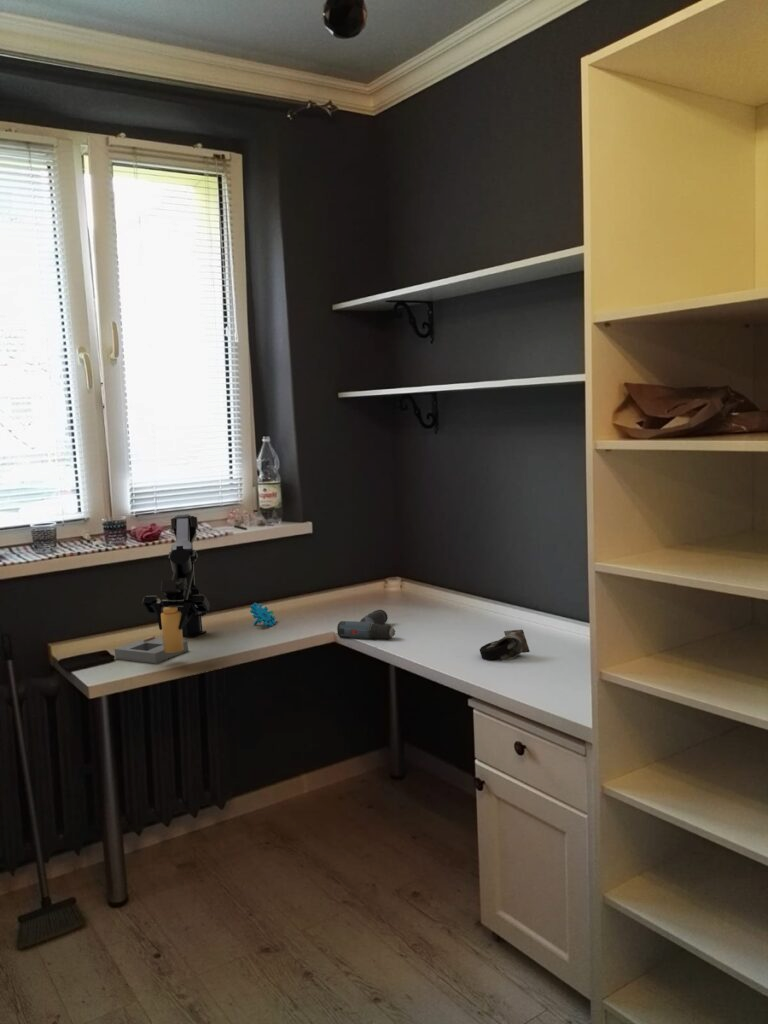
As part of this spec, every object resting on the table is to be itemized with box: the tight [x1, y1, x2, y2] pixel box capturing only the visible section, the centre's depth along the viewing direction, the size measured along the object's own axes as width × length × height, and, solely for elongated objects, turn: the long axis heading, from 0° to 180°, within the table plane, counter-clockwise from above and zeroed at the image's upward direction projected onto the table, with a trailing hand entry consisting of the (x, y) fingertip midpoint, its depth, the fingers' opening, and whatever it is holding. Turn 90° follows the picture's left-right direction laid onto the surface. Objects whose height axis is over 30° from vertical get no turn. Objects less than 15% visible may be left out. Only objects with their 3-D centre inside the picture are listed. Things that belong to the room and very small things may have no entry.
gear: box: [249, 602, 276, 627], centre depth 291 cm, size 11×6×10 cm
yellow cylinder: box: [161, 606, 184, 653], centre depth 250 cm, size 6×6×12 cm
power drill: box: [336, 609, 396, 640], centre depth 273 cm, size 5×19×20 cm
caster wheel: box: [479, 629, 530, 661], centre depth 239 cm, size 7×11×10 cm
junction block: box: [114, 635, 189, 664], centre depth 261 cm, size 14×16×4 cm
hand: (170, 629), depth 249 cm, fingers closed on yellow cylinder, 6 cm apart
